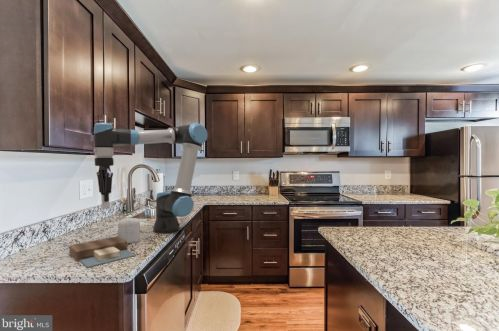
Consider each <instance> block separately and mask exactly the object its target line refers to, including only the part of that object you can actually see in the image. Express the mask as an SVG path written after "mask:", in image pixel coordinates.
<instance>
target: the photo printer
mask: <svg viewBox="0 0 499 331" xmlns="http://www.w3.org/2000/svg"><path fill="white" fill-rule="evenodd" d="M140 229H141V222H140V219H139V218H135V217H127V218H123V219H119V220H118V223H117V236H118V237H120V238H122V239H123V240H125V241H127V244H131V243H139V242H140V237H141V236H140V235H141V230H140Z"/></svg>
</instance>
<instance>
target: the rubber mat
mask: <svg viewBox="0 0 499 331" xmlns="http://www.w3.org/2000/svg"><path fill="white" fill-rule="evenodd" d="M133 257H136V256H135V254H133V253H132V252H130V251H128V249H127V250H122V251H120V257H117V258H113V259H109V260H105V261H101V262H99V261H98V260H97V259H96V258H95V257H91V258H87V259H83V260H80V261H79V262H80V263H82V265H83V266H85V267H86V268H87V269H89V268H93V267H97V266H101V265H105V264H110V263H113V262H116V261H117V262H119V261H121V260H125V259H129V258H133Z"/></svg>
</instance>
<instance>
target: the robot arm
mask: <svg viewBox="0 0 499 331" xmlns="http://www.w3.org/2000/svg"><path fill="white" fill-rule="evenodd" d="M207 140H208V130H207V129H206V128H205V125H203V124H202V123H196V122H193V123H191V124H184V125H179V126H176V127H168V128H167V129H148V130H147V129H145V130H137V129H132V128H131V129H127V128H114V125H113V124H112V123H108V122H96V123H95V124H94V127H93V143H94V149H93V152H94V156H95V158H94V165H95V167H98V169H97V170H98V171H96V177H97V185H98V192H99V193H100V195H101V196H100V197H101V209H102V210H106V209H110V194H111V193H112V187H113V186H112V185H113V176H114V172H112V171H111V166H114V164H115V162H114V147H119V146H137V145H146V144H149V145H150V144H161V143H168V144H172V145H174V144H180V145H181V146H182V147H183V149H182V151H181V152H182V153H181V158H180V161H179V162H180V163H179V167H178V172H177V176H176V180H175V186H174V188H173V189H172V190H171V191H165V192H164V191H162V192H158V193H156V197H155V203H156V205H155V206H156V207H155V208H156V209H155V210H156V211H155V213H156V214H155V217H156V218H155V221H154V223H153V227H152V229H153V230H152V231H153V232H154V233H156V234H169V233H170V232H171V233H175V232H178V231H180V223H179V220H178V218H179V217H180V218H181V217H183V218H184V217H187V216H189V215H190V214H191V213H192V211H193V209H194V206H195V204H194V203H195V202H194V200H193V198H192V195H193V193H192V192H191V188H192V183H193V176H194V173H195V167H196V163H197V159H198V158H197V157H198V154H199V153H198V152H199V150H202V146H203V144H204V143H205V142H206V141H207Z"/></svg>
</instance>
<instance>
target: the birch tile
mask: <svg viewBox="0 0 499 331" xmlns="http://www.w3.org/2000/svg"><path fill="white" fill-rule="evenodd" d="M94 257H95V258H96V259H97V260H98V261H99V262H101V261H105V260H109V259H113V258H117V257H120V250H118V249H117V248H115V247H110V248H105V249H100V250H95V251H94Z"/></svg>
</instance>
